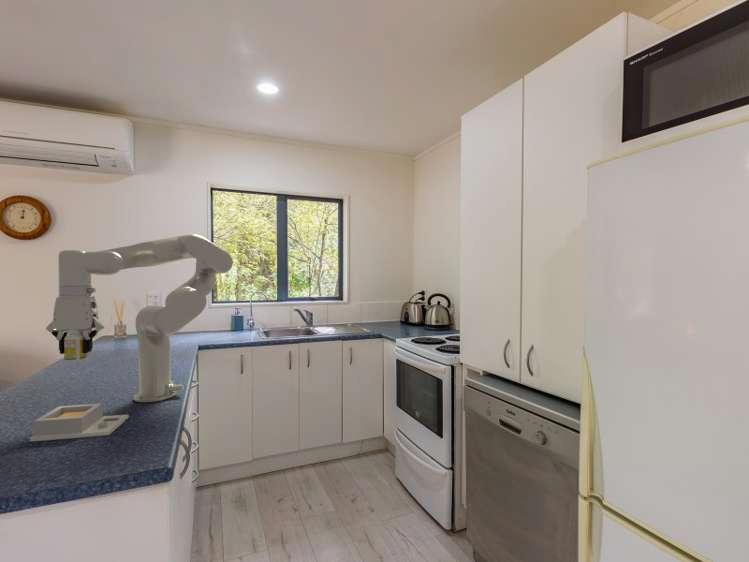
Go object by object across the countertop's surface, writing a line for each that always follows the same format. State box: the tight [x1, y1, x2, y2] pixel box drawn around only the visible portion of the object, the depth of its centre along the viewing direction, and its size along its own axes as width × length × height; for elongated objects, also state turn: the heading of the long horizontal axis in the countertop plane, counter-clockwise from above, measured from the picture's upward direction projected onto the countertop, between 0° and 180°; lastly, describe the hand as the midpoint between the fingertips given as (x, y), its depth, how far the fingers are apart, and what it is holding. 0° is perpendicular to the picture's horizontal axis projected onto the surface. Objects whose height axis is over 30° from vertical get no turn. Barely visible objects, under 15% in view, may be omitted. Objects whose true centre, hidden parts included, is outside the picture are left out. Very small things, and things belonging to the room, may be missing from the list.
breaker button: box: [57, 411, 85, 418], centre depth 103 cm, size 5×5×2 cm
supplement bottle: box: [63, 330, 88, 363], centre depth 112 cm, size 5×5×10 cm
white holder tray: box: [29, 403, 129, 442], centre depth 104 cm, size 18×12×5 cm, turn 102°
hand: (76, 352), depth 112 cm, fingers closed on supplement bottle, 5 cm apart
